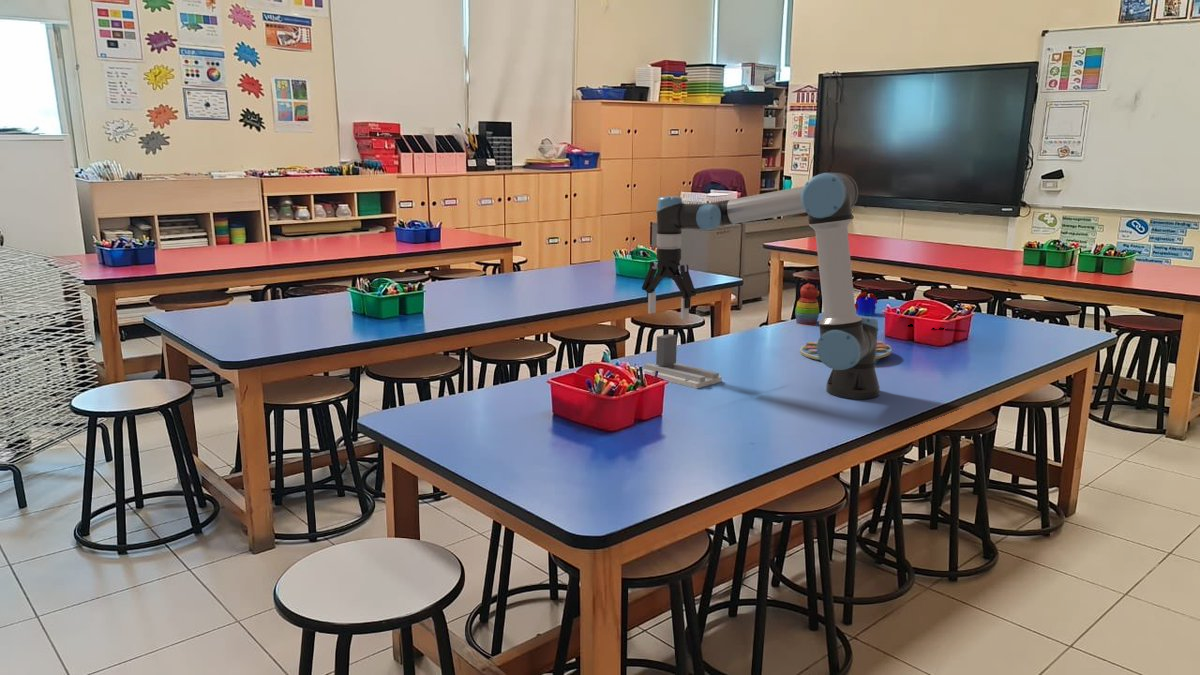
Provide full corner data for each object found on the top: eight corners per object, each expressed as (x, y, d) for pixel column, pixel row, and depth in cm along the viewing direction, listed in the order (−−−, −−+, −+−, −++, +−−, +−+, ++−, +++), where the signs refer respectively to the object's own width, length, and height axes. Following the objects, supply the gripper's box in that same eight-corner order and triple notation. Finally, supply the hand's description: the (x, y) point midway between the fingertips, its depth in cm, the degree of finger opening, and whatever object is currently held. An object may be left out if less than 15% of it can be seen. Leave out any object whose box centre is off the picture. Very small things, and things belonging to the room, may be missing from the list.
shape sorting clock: (799, 345, 319) (799, 329, 318) (885, 350, 313) (887, 333, 312) (800, 365, 290) (801, 347, 289) (896, 370, 284) (897, 352, 283)
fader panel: (721, 381, 267) (722, 372, 266) (696, 388, 258) (696, 378, 258) (665, 368, 283) (665, 359, 282) (640, 374, 274) (640, 365, 274)
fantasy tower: (873, 317, 374) (875, 290, 372) (883, 322, 363) (885, 294, 360) (846, 317, 374) (848, 290, 371) (855, 322, 362) (857, 294, 360)
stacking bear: (818, 331, 344) (821, 286, 340) (792, 329, 347) (794, 285, 344) (821, 326, 354) (824, 283, 350) (796, 324, 357) (798, 281, 354)
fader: (675, 368, 275) (676, 335, 273) (663, 371, 271) (664, 338, 269) (668, 366, 277) (669, 333, 275) (656, 369, 273) (656, 336, 271)
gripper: (708, 249, 260) (707, 319, 264) (647, 244, 278) (646, 309, 282) (692, 251, 255) (691, 322, 259) (631, 245, 273) (630, 312, 277)
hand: (668, 315), depth 271 cm, fingers open, 13 cm apart
